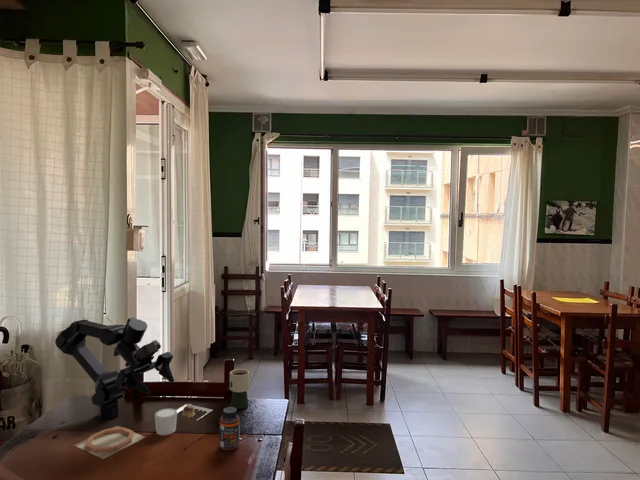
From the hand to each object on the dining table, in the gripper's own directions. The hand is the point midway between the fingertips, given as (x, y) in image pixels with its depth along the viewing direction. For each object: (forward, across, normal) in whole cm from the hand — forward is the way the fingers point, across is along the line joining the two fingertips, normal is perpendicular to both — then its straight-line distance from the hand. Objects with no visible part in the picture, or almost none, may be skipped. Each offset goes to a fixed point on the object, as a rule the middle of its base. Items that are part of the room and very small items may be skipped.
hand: (161, 387), depth 133 cm
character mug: (+15, +28, +11) cm, 34 cm away
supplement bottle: (+27, +6, +2) cm, 28 cm away
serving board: (0, -12, +18) cm, 22 cm away
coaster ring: (0, -12, +17) cm, 21 cm away
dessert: (+6, +14, +17) cm, 23 cm away
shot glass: (+8, +1, +14) cm, 16 cm away
